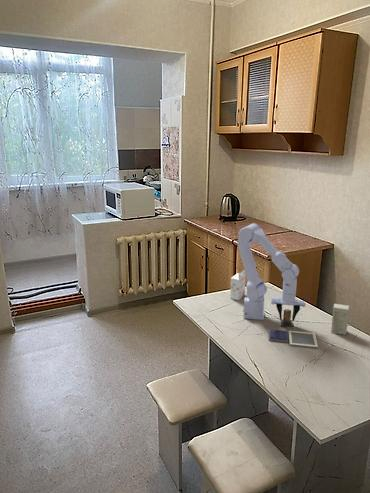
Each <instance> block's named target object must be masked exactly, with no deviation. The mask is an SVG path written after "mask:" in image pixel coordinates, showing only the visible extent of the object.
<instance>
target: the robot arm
mask: <svg viewBox="0 0 370 493" xmlns="http://www.w3.org/2000/svg"><path fill="white" fill-rule="evenodd" d="M237 234H238V238H237V245H236V246H237V248H238V252H239V257H240V259H241V262H242V265H243V268H244V269H243V270H245V277H246V280H247V283H246V285H245V289H246V296H247V297H244V302H243V309H242V312H243V319H249V320H259V321H260V320H261V321H264V320H265V310H264V309H265V294H266V293H267V292H268V288H267V285H266V284H265V283H264V280H263V279H262V278H261V277H260V275H259V273H258V269H257V266H256V262H255V259H254V256H253V252H252V250H251V249H252V248H251V244H252V243H256V244H260V246H261V247H262V248H263V249H264V250H265V251H266V252H267V254H269V255H270V256H271V262H272V263H273V264H274V265H275V267H277V269H278V270H279V271H280V272H281V277H282V279H283V280H282V293H281V298H271V305H275V306H276V310H277V312H278V315H279V320H280V321H281V319H283V317H282V313H283V312H282V311H283V306H284V305H285V306H293V307H292V308H293V310H292V311H293V312H292V315H291V319H292V322H294V321H295V320H296V316H297V315H298V313H299V312H300V310H301V307H303V308H306V301H304V300H298V299H296V294H297V284H298V283H297V281H298V280H297V279H298V276H299V274H300V268H299V267H298V265H297V264H294V263H293V262H291V261H290V259H288V257H287V255H286V253H284V252H282V251H279V250H277V249H276V247H275V245H273V244H272V242H271V241H270V239H269V238H268V236H267V235H266V234H265V231H264V230H263V229H262V227H260V225H259V224H257V223H254V222H252V223H250V224H249V225H247V226H244V227H242V228H240V230H239V231H238V233H237Z"/></svg>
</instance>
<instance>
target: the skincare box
mask: <svg viewBox="0 0 370 493" xmlns="http://www.w3.org/2000/svg"><path fill="white" fill-rule="evenodd" d="M332 308H333V309H332V317H331V328H330V329H331V330H330V332H331V333H332V334H339V335H343V336H344V335H345V336H347V332H348V321H349V314H350V305H345V304H341V303H334V304H333V307H332Z"/></svg>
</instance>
